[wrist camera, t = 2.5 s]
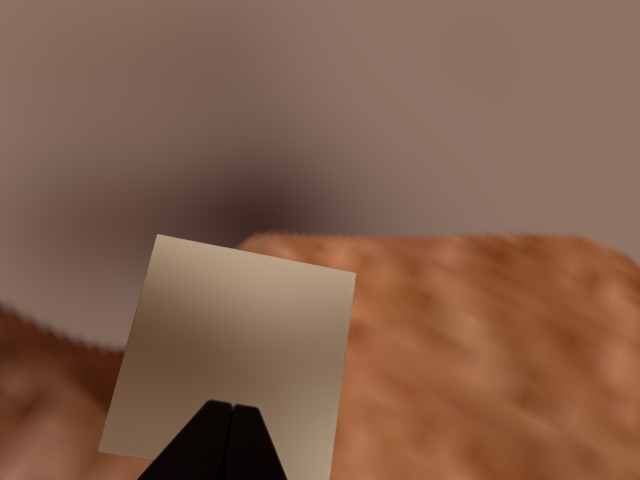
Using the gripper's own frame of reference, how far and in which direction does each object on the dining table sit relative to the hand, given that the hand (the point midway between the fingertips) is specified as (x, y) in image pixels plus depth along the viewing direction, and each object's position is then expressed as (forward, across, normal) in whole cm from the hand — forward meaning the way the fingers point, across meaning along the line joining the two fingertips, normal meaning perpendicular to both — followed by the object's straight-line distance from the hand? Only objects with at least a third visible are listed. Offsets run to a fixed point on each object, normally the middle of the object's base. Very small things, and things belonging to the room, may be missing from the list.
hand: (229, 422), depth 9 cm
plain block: (+9, 0, +7) cm, 11 cm away
